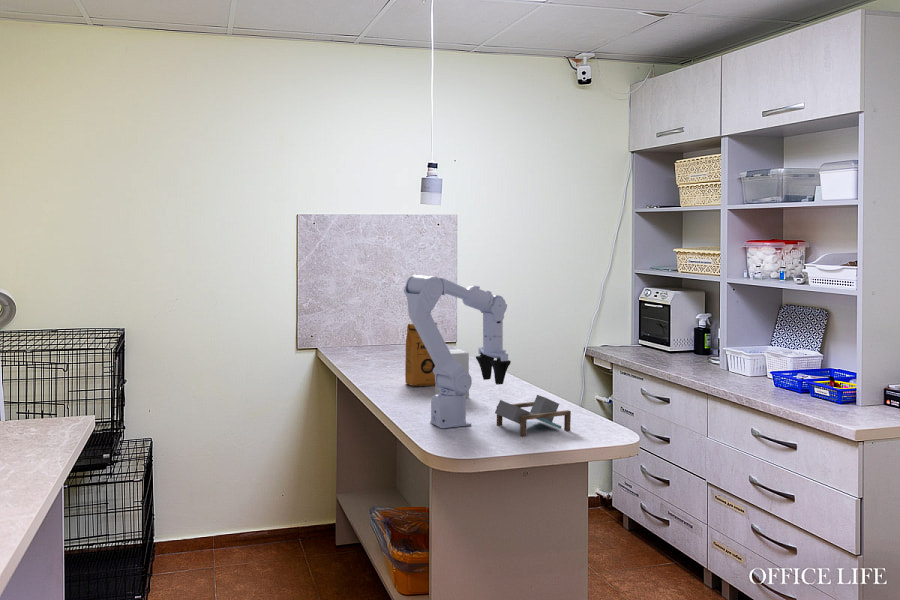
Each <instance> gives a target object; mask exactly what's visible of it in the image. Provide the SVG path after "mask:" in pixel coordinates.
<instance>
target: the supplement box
mask: <svg viewBox="0 0 900 600" xmlns="http://www.w3.org/2000/svg"><path fill="white" fill-rule="evenodd" d="M449 351H450V353H451V355H452V357H453V359H454V360H455V361H456V362H458V363H459V364H460V365H461V366H462V367H463V369H464V370H465V371H466V372H467V373H469V374H470V371H469V369H470V367H469V366H470V365H469V363H470V362H469V361H470V353H469V352H467V351H465V350H463V349H461V348H457V349H449ZM437 394H440V391H439V387H438V386H437V385H435V395H437ZM467 398H470V389H469V390H468V391H467V394H466V399H467Z"/></svg>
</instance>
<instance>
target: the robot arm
mask: <svg viewBox="0 0 900 600" xmlns="http://www.w3.org/2000/svg"><path fill="white" fill-rule="evenodd" d="M403 293H404V295H405V296H406V300H407V301H406V302H407V310H408V311H407V312H408V316H409V320H411V322H412V323H411V324H413V325H414V326H415V328H416V330H417V332H418V334H419V336H420V338H421V340H422V342H423V343H424V345H425V347H426V349H427V351H428V353H429V355H430V357H431V359H432V361H433V362H434V364H435V368H434V369H433V373H434V375H435V382H436V385H437V386H438V387H439V391H440V394H437V395H436V394H433V395H432V397H431V402H430V421H429V423H431V425H435V426H436V427H439V428H440V429H449V428H456V427H457V428H458V427H466V426H472V422H469V421H467V419H466V418H467V417H466V416H467V401H466V400H467V398H466V394H467V391H468V390H469V391H470V388H471V386H472V375H470V372H469V373H467V372H466V371H465V370H464V369H463V367H462V366H461V365H460V364H459V363H458V362H456V361H455V360H454V359H453V357H452V355H451V353H450V351H449V350H450V349H449V348H448V345H447V343H446V342H445V340H444V338H443V335H442V334H441V332H440V329H439V327H438V326H437V325H436V324H435V323H436V322H435V320H434V318H433V316H432V311H433V309H434V308H435V306H436V305H437V304H438V301H439V300H440V298H441V297H442V296H445V295H448V296H451V297H455V298H458V299H461V300H462V303H463V304H464V306H466V307H470V308H472V309H474V310H477V311H480V313H481V314H482V347H481V346H480V347H478V354H479V355H476V356H475V359H476V361H477V362H478V364H479V367H480V371H481V375H482V378H483V381H487V380H491V379H492V370H493V374H494V375H493V376H494V382H495V385H498V386H499V385H503V384H504V382H505V378H506V373H507V371H508V368H509V366H510V365H511V360H509V353H507V349H504V348H503V347H504V343H503V341H504V340H503V339H504V338H503V335H504V333H503V332H504V330H503V329H504V327H503V326H504V323H503V322H504V318H505V313H506V312H507V308H508V304H507V303H506V300H505V299H504V297H503V296H501V295H497V294H492V291H490V290H486V291H485V290H483V289H481V287H480V286H479V285H475V284H474V285H470V286H468V287H467V288H466V287H463V286H462V285H460V284H458V283H455V282H452V281H450V280H448V279H446V278H443V277H442V278H441V277H438V276H435V275H434V276H433V275H432V276H428V275H420V274H419V275H418V274H412V275H411V276H409V277H408V279H407V280H406V282H405V286H404V289H403ZM436 385H435V386H436Z"/></svg>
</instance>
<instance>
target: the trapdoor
mask: <svg viewBox="0 0 900 600" xmlns="http://www.w3.org/2000/svg"><path fill="white" fill-rule="evenodd" d="M512 404H513V403H509V402H507V401H504V400H502V399H499V402H498V404H497V405H496V409H495V412H494V414H496V415H497V414H498V415H500V416H502V418H504V419H507V420H509V421H512V422H514V423H516V424H519V425H520V416H521V415H530V414H533V413H531V412H530V411H528V410H525V409H524V408H519V407H517V406H514V405H512ZM537 421H540V422H542V423H545V424H547V425H550V426H552V427H555V428H557V429H560V430H561V429H562V425H561V424H560V425H559V424H557V423H555V422H553V421H552V422H551V421H548V420H546V419H544V418H538V419H537Z"/></svg>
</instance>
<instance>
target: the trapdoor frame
mask: <svg viewBox="0 0 900 600" xmlns="http://www.w3.org/2000/svg"><path fill="white" fill-rule="evenodd" d="M511 404H512V405H514V406H517V407H519V408H521V409H523V408H529V407H530V408H532V406H533V404H534V401H528V402H520V403H511ZM571 412H572V411H571V410H569V409H568V410H567V409H566V410H559V411H558V410H557V411H556V412H548V413H539V414H530V415H521V416H520V424H519V425H520V426H519V436H520V437H522V438H524V437H527V427H528V426H527V425H528V423H527V421H528V420H538V418H547V417H554V418H555V417H563V416H564V421H563V425H564V427H563V431H565V432H570V431H571V416H572V415H571ZM496 426H503V417H502V416H500V415H498V414H496Z"/></svg>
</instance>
